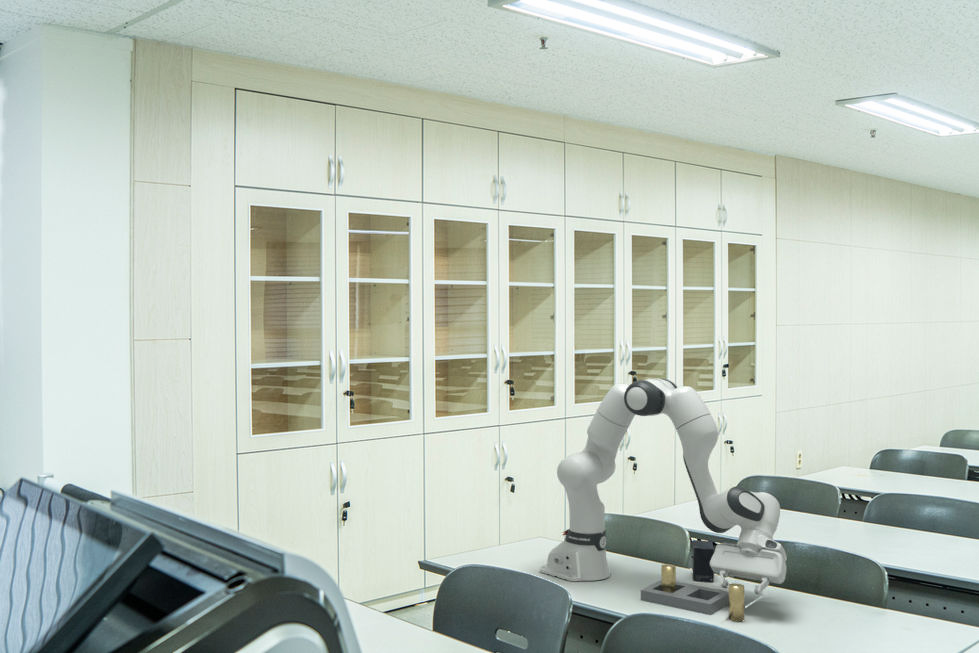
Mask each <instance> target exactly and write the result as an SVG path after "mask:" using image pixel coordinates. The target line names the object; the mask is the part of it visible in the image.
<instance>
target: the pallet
mask: <svg viewBox="0 0 979 653" xmlns="http://www.w3.org/2000/svg"><path fill="white" fill-rule="evenodd" d="M640 601H643V602H648V603H652V604H656V605H661V606H666V607H671V608H676V609H681V610H686V611H689V612H690V611H691V612H695V613H701V614H705V615H709V616H711V615H713V614H715V613H716V612H718V611H719V610H721V609H723V608H724V607H726V606H729V590H722V589H717V588H712V587H706V586H701V585H697V584H692V583H685V582H680V581H676V592H674V593H669V592H664V591H662V579H661V580H659V581H656V582H655V583H652V584H650V585H648V586H646V587H644V588H642V589H640Z"/></svg>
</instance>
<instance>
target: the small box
mask: <svg viewBox="0 0 979 653" xmlns="http://www.w3.org/2000/svg"><path fill="white" fill-rule="evenodd" d="M714 552H715V549H714V545H713V541H712V540H711V541H709V540H700V539H699V540H698V539H697V540H696V539H693V540H692V571H693V573H692V579H693V580H692V581H693V582H703V581H704V582H705V583H706V582H707V583H714V580H715V579H714V578H715V572H713V570H712V569H711V566H710V560H711V558H712V556H713V554H714Z"/></svg>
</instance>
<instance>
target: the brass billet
mask: <svg viewBox="0 0 979 653" xmlns="http://www.w3.org/2000/svg"><path fill="white" fill-rule="evenodd" d="M744 585H745V584H742V583H737V582H734V583H729V585H728V591H729V604H728V620H729V619H730V620H729V621H731V620H732V621H731V622H734V621H737V622H736V623H739V622H738V621H743V620H744V621H745V586H744ZM744 621H743V622H744Z"/></svg>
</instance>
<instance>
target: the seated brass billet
mask: <svg viewBox="0 0 979 653" xmlns="http://www.w3.org/2000/svg"><path fill="white" fill-rule="evenodd" d="M676 569H677V568H676V565H675V564H672V563H671V564H670V563H663V564H662V565H661V580H662V591H664V592H669V593H674V592H676V582H677V580H676V579H677V572H676Z"/></svg>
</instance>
